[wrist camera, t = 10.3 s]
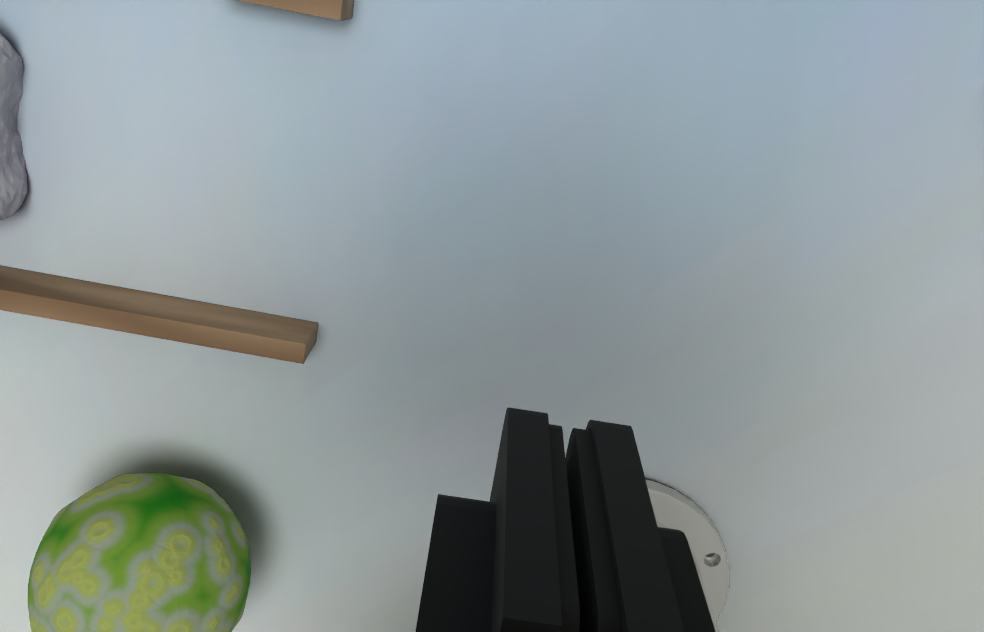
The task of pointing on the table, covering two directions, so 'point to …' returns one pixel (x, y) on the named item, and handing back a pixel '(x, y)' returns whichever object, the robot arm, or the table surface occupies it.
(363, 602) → the table surface
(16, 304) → the channel
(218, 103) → the table surface
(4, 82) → the stone block
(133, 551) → the decorative ball
